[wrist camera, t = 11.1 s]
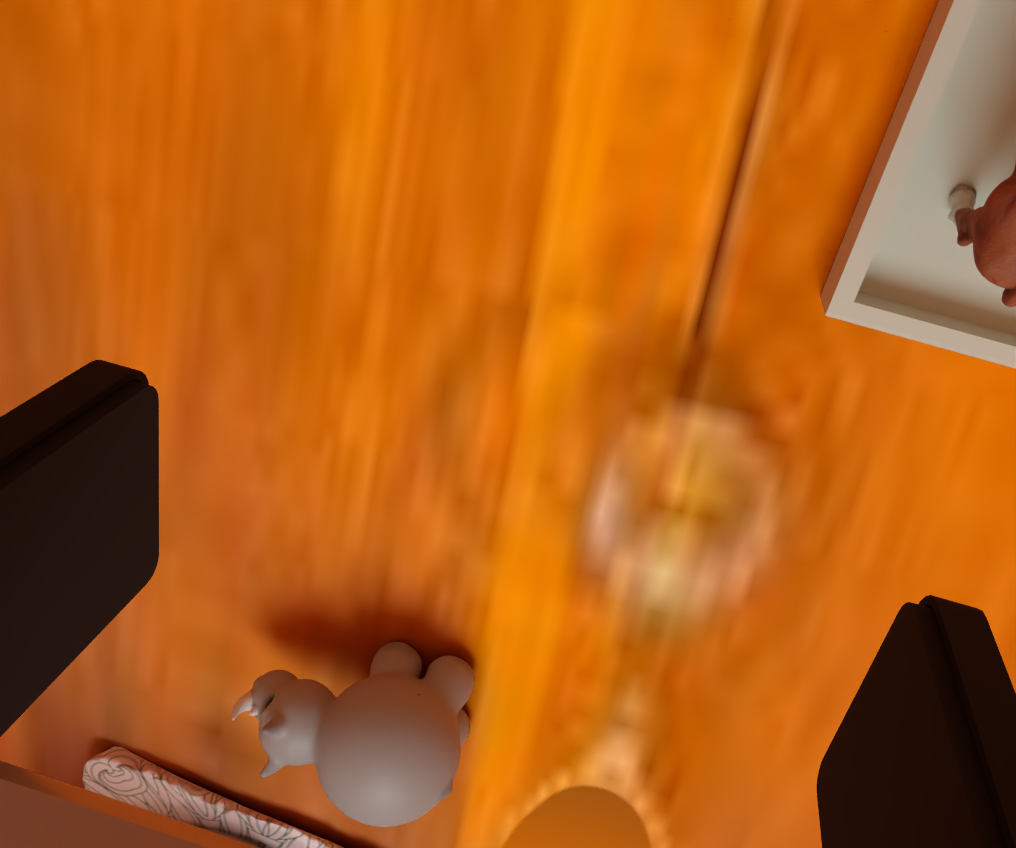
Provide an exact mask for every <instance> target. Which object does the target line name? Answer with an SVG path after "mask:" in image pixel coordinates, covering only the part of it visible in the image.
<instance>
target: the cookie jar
mask: <svg viewBox="0 0 1016 848" xmlns="http://www.w3.org/2000/svg"><path fill="white" fill-rule="evenodd" d="M83 775H84V776H83V777H82V781H83V784H84V785H85V789H86V790H89V791H92V792H95V793H98V794H101V795H104V796H107V797H110V798H113V799H116V800H119V801H122V802H125V803H128V804H131V805H134V806H137V807H140V808H143V809H146V810H149V811H152V812H155V813H158V814H161V815H164V816H167V817H170V818H173V819H176V820H179V821H182V822H185V823H188V824H190V825H193V826H196V827H199V828H202V829H205V830H208V831H211V832H214V833H217V834H220V835H223V836H226V837H229V838H232V839H235V840H238V841H241V842H243V843H246V844H249V845H252V846H255V847H258V848H343V847H341V846H339V845H337V844H335V843H333V842H330V841H328V840H325V839H323V838H320V837H318V836H316V835H313V834H311V833H308V832H306V831H303V830H301V829H298V828H296V827H293V826H291V825H288V824H286V823H283V822H281V821H278V820H276V819H273V818H271V817H268V816H266V815H263V814H261V813H259V812H256V811H254V810H251V809H249V808H246V807H244V806H242V805H240V804H238V803H236V802H234V801H232V800H230V799H227V798H225V797H223V796H220V795H218V794H216V793H213V792H211V791H209V790H206V789H204V788H202V787H200V786H198V785H195V784H193V783H191V782H189V781H187V780H184V779H182V778H180V777H178V776H176V775H174V774H172V773H170V772H168V771H166V770H164V769H162V768H161V767H159V766H157V765H155V764H153V763H151V762H149V761H147V760H145V759H143V758H141V757H139V756H137V755H135V754H133V753H131V752H130V751H128V750H126V749H125V748H122V747H117V746H113V747H112V748H111V749H109V750H107V751H105V752H103V753H101V754H98V755H95V756H94V757H92V758H91V759H90V760H88V761H87V762H86V764H85V765H84V771H83Z"/></svg>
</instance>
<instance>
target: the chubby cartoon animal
mask: <svg viewBox="0 0 1016 848" xmlns="http://www.w3.org/2000/svg"><path fill="white" fill-rule="evenodd" d="M421 670H422V661H421V658H420V656H419V655H418V653H417V652H416V651H415V650H414V649H413V648H412V647H411V646H409V645H408V644H406V643H403V642H390V643H387V644H385V645H384V646H382V647H381V648H380V649H379V650H378V652H377V653H376V655H375V657H374V659H373V661H372V664H371V669H370V676H369V677H367V678H364V679H362V680H360V681H358V682H356V683H355V684H353V685H352V686H350V687H349V688H347V689H346V690H345V691H344V692H342V693H341V694H340V695H339V696H338V697H335V696H334V695H333V694H332V692H331V691H330V690H329V689H328V688H327V687H326V686H324V685H323V684H321V683H319V682H317V681H314V680H310V679H300V680H298V678H297V677H296V676H294V675H293V674H292V673H290V672H288V671H285V670H273V671H270V672H268V673H266V674H264V675H263V676H260V677H259V678H257V679H256V681H255V682H254V684H253V688H252V690H250V691H249V692H248V693H246V694H244V695H243V696H242V697H240V698H239V699H238V701H237V702H236V703H235V705H234V707H233V711H232V720H234V719H235V718H236V717H237V716H238V715H239V714H240V713H242V712H244V711H249V710H251V712H250V716H251V715H252V716H256V717H257V718H258V719H259V738H260V741H261V744H262V747H263V748H264V750H265V751H266V753H267V755H268V758H269V760H268V763H267V764H266V766H265V767H264V768H263V770H262V771H261V773H260V776H261V777H262V778H265V777H268V776H270V775H272V774H274V773H275V772H277V771H278V770H279V769H281V768H282V767H283V766H285V765H293V766H298V765H304V764H309V763H313V764H315V765H316V768H317V772H318V777H319V780H320V783H321V785H322V787H323V789H324V791H325V793H326V794H327V796H328V797H329V799H330V800H331V801H332V803H333V804H334V805H335V806H336V807H337V808H338V809H339V810H340V811H342V812H343V813H344V814H345V815H347V816H349V817H350V818H352V819H354V820H356V821H358V822H361V823H364V824H367V825H371V826H379V827H391V826H398V825H402V824H406V823H409V822H411V821H414V820H416V819H418V818H419V817H421V816H423V815H425V814H426V813H427V812H429V811H430V810H431V809H432V808H433V807H435V806H436V805H437V804H438V803H439V802H440V801H442V800H443V799H445V798H446V797H447V796H448V795H449V794H450V793H451V791H452V785H453V780H454V777H455V775H456V772H457V769H458V765H459V760H460V748H461V746H462V745H463V744H464V742H465V741H466V739H467V737H468V735H469V731H470V721H469V718H468V716H467V714H466V713H465V711H464V710H463V709H462V707H463V706H464V704H465V703H466V702H467V700H468V699H469V697H470V695H471V693H472V690H473V687H474V682H475V675H474V672H473V670H472V668H471V667H470V666H469V665H468V664H467V663H466V662H465V661H463V660H462V659H460V658H458V657H455V656H450V655H446V656H442V657H439V658H437V659H436V660H434V661H433V662H432V663H431V664H430V666H429V667H428V669H427V672H426V675H425V677H424V678H422V679H418V678H419V676H420V673H421Z"/></svg>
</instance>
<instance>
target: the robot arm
mask: <svg viewBox="0 0 1016 848" xmlns="http://www.w3.org/2000/svg"><path fill="white" fill-rule="evenodd" d="M158 557H159V400H158V393H157V391H156V389H155V388H154V387H153V386H149V384H148V380H147V377H146V375H145V374H144V373H143V372H141V371H138V370H135V369H131V368H128V367H124V366H121V365H117V364H113V363H110V362H106V361H103V360H95V361H92V362H90V363H88V364H87V365H85V366H83V367H82V368H80V369H79V370H77V371H75V372H74V373H72V374H70V375H69V376H67V377H65V378H64V379H62V380H61V381H59V382H57V383H56V384H54V385H52V386H51V387H49V388H47V389H46V390H44V391H42V392H41V393H39V394H38V395H36V396H34V397H33V398H31V399H29V400H28V401H26V402H24V403H23V404H21V405H20V406H18V407H16V408H15V409H13V410H11V411H10V412H8V413H6V414H5V415H3V416H2V417H0V737H1V736H2V735H3V733H4V732H5V731H6V730H7V729H8V728H9V727H10V726H11V725H12V724H13V723H14V722H15V721H16V720H17V719H18V718H19V717H20V716H21V715H22V714H23V713H24V712H25V710H26V709H27V708H28V707H29V706H30V705H31V704H32V703H33V702H34V701H35V700H36V699H37V698H38V697H39V696H40V695H41V694H42V693H43V692H44V691H45V690H46V689H47V687H48V686H49V685H50V684H51V683H52V682H53V681H54V680H55V679H56V678H57V677H58V676H59V675H60V674H61V673H62V672H63V671H64V670H65V669H66V668H67V667H68V666H69V665H70V663H71V662H72V661H73V660H74V659H75V658H76V657H77V656H78V655H79V654H80V653H81V652H82V651H83V650H84V649H85V648H86V647H87V646H88V645H89V644H90V643H91V642H92V640H93V639H94V638H95V637H96V636H97V635H98V634H99V633H100V632H101V631H102V630H103V629H104V628H105V627H106V626H107V625H108V624H109V623H110V622H111V621H112V620H113V619H114V618H115V616H116V615H117V614H118V613H119V612H120V611H121V610H122V609H123V608H124V607H125V606H126V605H127V604H128V603H129V602H130V601H131V600H132V599H133V598H134V597H135V596H136V595H137V593H138V592H139V591H140V590H141V589H142V588H143V587H144V586H145V585H146V584H147V583H148V581H149V580H150V579H151V577H152V575H153V574H154V571H155V569H156V566H157V562H158ZM817 798H818V809H819V819H820V829H821V839H822V848H1016V693H1015V691H1014V688H1013V686H1012V683H1011V680H1010V678H1009V675H1008V673H1007V670H1006V667H1005V665H1004V662H1003V660H1002V657H1001V655H1000V652H999V649H998V647H997V644H996V642H995V639H994V636H993V634H992V631H991V629H990V626H989V623H988V621H987V618H986V616H985V614H984V613H983V611H982V610H980V609H978V608H974V607H971V606H967V605H963V604H960V603H956V602H953V601H949V600H946V599H942V598H939V597H935V596H932V595H929V596H926V597H924V598H923V599H922V600H921V601H920V603H919V604H914V603H911V602H908V603H905V604H904V605H903V606H902V607H901V609H900V611H899V612H898V614H897V616H896V618H895V620H894V622H893V624H892V626H891V628H890V630H889V632H888V633H887V635H886V637H885V639H884V641H883V643H882V645H881V647H880V649H879V651H878V653H877V655H876V657H875V659H874V661H873V663H872V665H871V666H870V668H869V670H868V672H867V674H866V676H865V678H864V680H863V682H862V684H861V686H860V688H859V690H858V692H857V694H856V696H855V697H854V699H853V701H852V703H851V705H850V707H849V709H848V711H847V713H846V715H845V717H844V719H843V721H842V723H841V725H840V727H839V728H838V730H837V732H836V734H835V736H834V738H833V740H832V742H831V744H830V746H829V748H828V750H827V752H826V754H825V756H824V758H823V760H822V762H821V765H820V769H819V773H818V778H817ZM0 848H258V847H255V846H252V845H249V844H246V843H243V842H241V841H238V840H235V839H232V838H229V837H226V836H223V835H220V834H217V833H214V832H211V831H208V830H205V829H202V828H199V827H196V826H193V825H190V824H188V823H185V822H182V821H179V820H176V819H173V818H170V817H167V816H164V815H161V814H158V813H155V812H152V811H149V810H146V809H143V808H140V807H137V806H134V805H131V804H128V803H125V802H122V801H119V800H116V799H113V798H110V797H107V796H104V795H101V794H98V793H95V792H92V791H89V790H86V789H83V788H80V787H77V786H74V785H71V784H68V783H65V782H62V781H59V780H56V779H53V778H50V777H47V776H44V775H41V774H38V773H35V772H32V771H29V770H26V769H23V768H20V767H17V766H14V765H11V764H8V763H5V762H2V761H0Z"/></svg>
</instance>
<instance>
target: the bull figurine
mask: <svg viewBox="0 0 1016 848" xmlns="http://www.w3.org/2000/svg"><path fill="white" fill-rule="evenodd" d="M976 195H977V194H976V190H975V189H974V188H973V187H970V186H967V185H959V186H957V187H956V188H955V189H954V190H953V191H952V192H951V193H950V196H949V206H950V207H951V208H952V209H951V212H950V213H949V215H948V219H949V220H951V221H952V222H953V223H955V225H956V227H957V232H958V237H957V243H958V245H960V246H967V245H969V244H971V243H973V255H974V261H975V265H976V267H977V269H978V271H979V272H980V273H981V275H982V276H983V277H984V278H985V279H986V280H988V281H989V282H991V283H993V284H995V285H997V286H999V287H1002V288H1005V289H1004V291H1003V294H1002V303H1003V304H1004V305H1006V306H1008V307H1014V306H1016V163H1015V169H1014V171H1013V173H1012V175H1011V176H1010V177H1009V178H1008V179H1006V180H1004V181H1003V182H1001V183H1000V184H999V185H998V186H997V187H996V188H995V189H994V190H993V191H992V192H991V193H990V195H989V197H988V198H987V200H986V202H985V204H984V206H982V207H979V208H977V209H975V210H974V206H975V204H976Z"/></svg>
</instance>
